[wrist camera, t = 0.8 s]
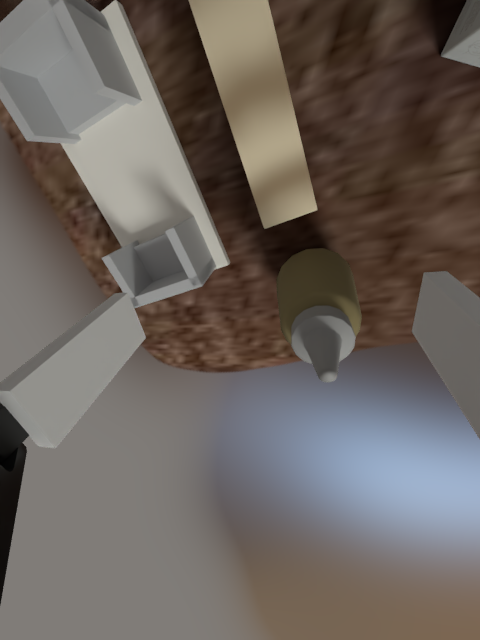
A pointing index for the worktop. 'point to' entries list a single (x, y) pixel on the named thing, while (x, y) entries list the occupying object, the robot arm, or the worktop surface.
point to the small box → (465, 36)
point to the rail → (257, 104)
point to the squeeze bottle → (319, 309)
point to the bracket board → (111, 139)
